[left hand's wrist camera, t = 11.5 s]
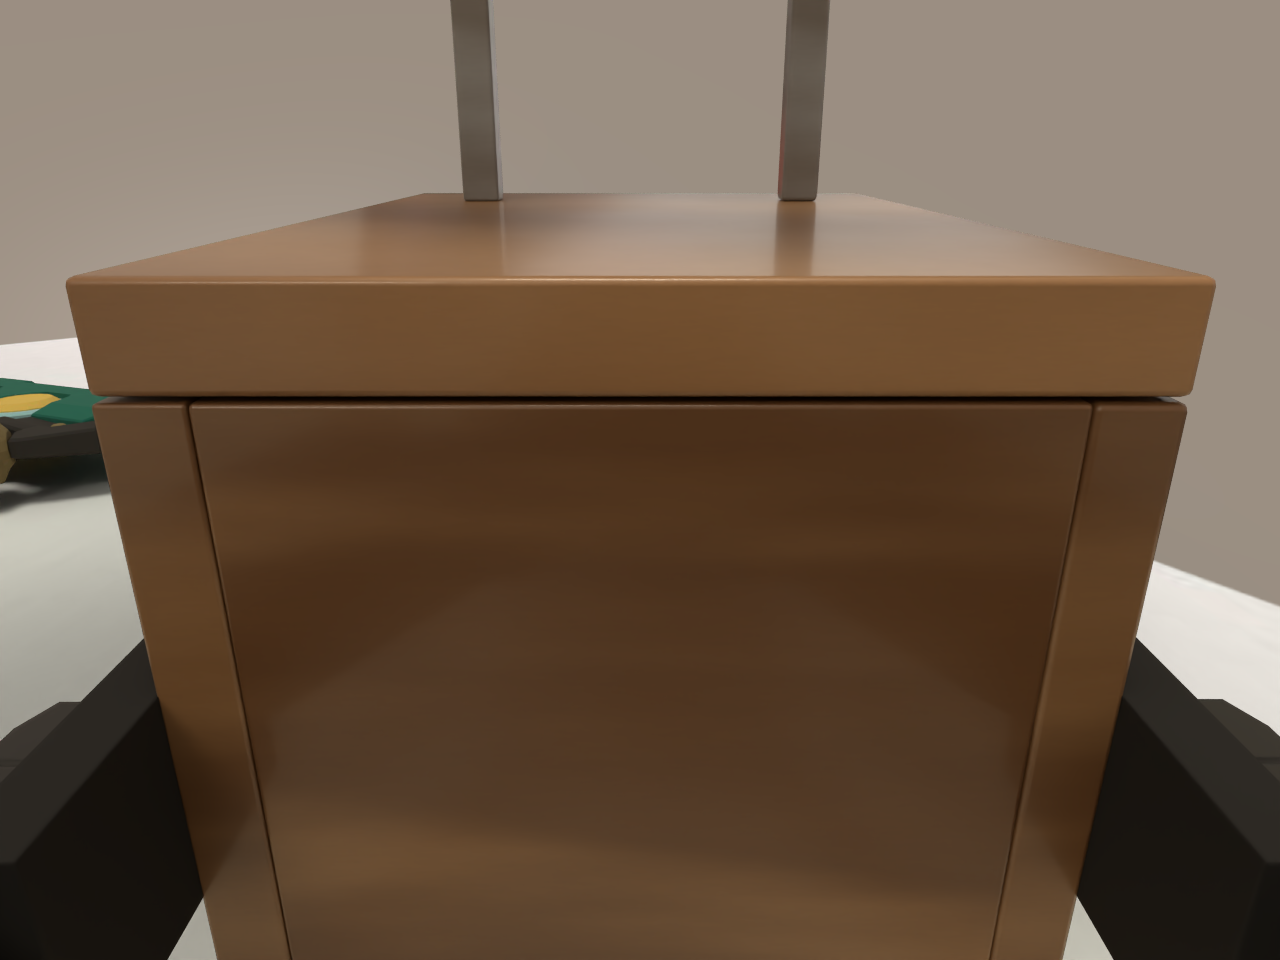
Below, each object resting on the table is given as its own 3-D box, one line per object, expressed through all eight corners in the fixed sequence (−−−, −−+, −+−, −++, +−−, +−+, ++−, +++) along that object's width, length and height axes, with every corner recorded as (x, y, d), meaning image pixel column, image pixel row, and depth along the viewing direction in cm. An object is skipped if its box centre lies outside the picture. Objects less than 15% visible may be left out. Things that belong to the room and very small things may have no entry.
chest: (456, 663, 24) (420, 246, 20) (824, 663, 24) (860, 246, 20) (269, 1194, 12) (88, 404, 8) (1011, 1193, 12) (1193, 404, 8)
